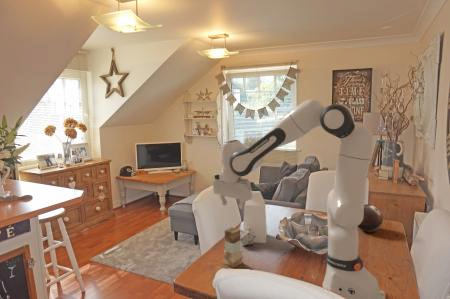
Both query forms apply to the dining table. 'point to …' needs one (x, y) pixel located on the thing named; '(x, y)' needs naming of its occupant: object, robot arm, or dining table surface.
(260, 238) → the milk
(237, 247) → the sage block
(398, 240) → the dining table surface
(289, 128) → the robot arm
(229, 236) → the walnut block
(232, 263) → the oak base block
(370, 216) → the wooden sphere
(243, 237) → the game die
